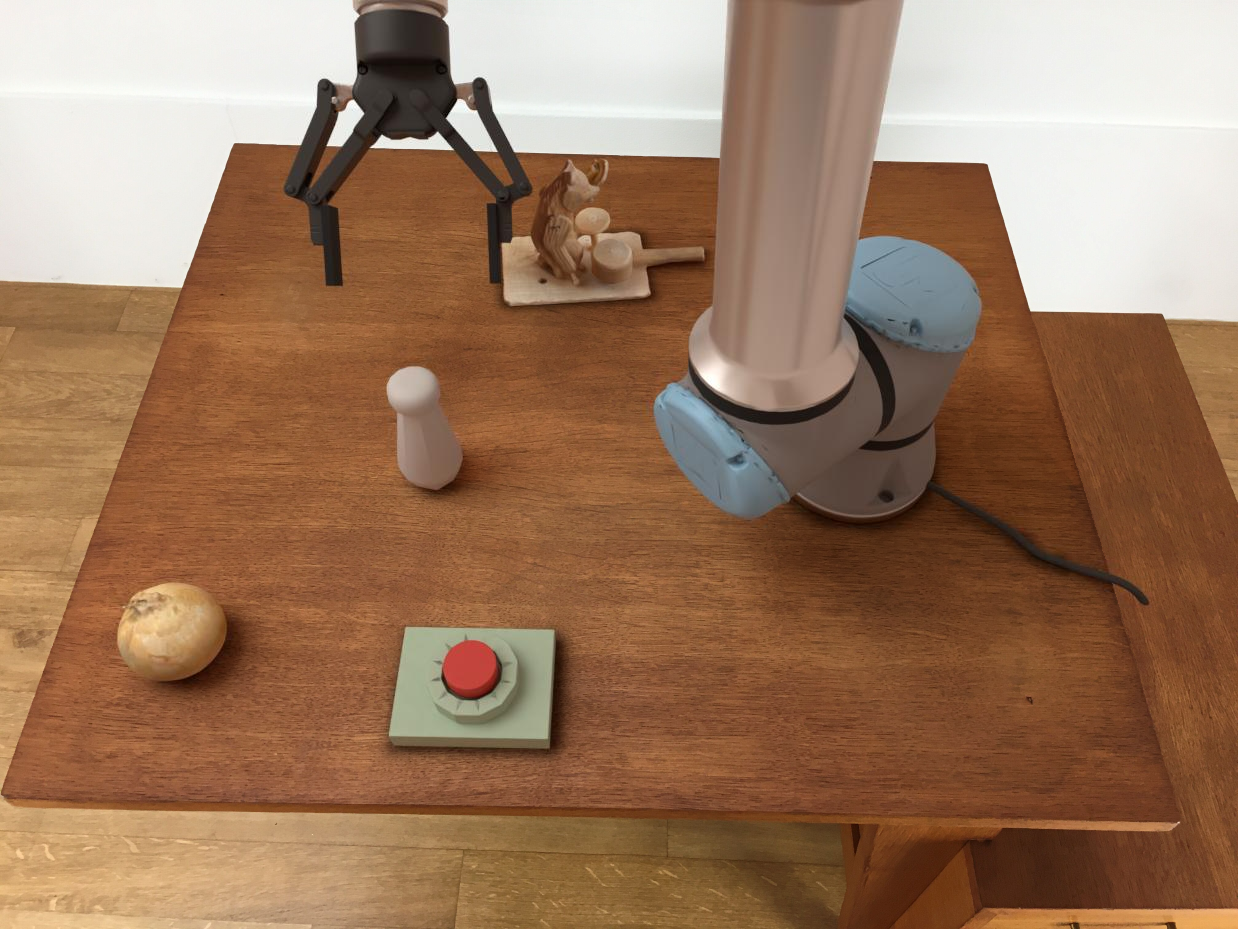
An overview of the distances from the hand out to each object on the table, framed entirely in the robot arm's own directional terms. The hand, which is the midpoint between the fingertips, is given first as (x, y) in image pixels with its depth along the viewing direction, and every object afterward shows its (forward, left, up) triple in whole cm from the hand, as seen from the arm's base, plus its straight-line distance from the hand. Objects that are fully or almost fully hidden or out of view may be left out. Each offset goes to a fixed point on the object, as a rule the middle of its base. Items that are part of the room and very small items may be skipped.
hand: (415, 285), depth 82 cm
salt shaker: (-5, +8, -15) cm, 18 cm away
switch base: (-20, +24, -15) cm, 34 cm away
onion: (+3, +32, -15) cm, 35 cm away
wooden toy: (-6, -23, -15) cm, 28 cm away
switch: (-20, +24, -11) cm, 33 cm away
